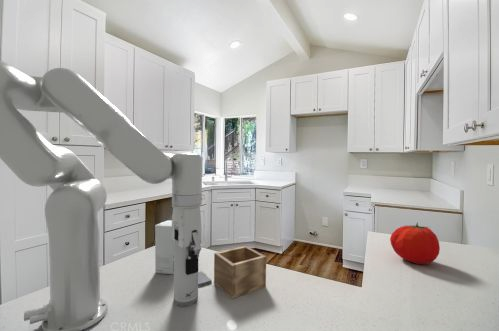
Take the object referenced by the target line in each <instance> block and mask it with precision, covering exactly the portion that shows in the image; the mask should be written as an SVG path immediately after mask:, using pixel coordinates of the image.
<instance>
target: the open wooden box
mask: <svg viewBox="0 0 499 331" xmlns="http://www.w3.org/2000/svg"><path fill="white" fill-rule="evenodd" d="M213 254H214V257H213V258H214V260H213V261H214V265H213V271H214V272H213V284H215V285H216V286H217V287H218V288H219V289H220V290H221V291H223V292H224V293H225V294H226V295H227V296H228V297H229V298H231V299H235V298H238V297H241V296H244V295H247V294H250V293H253V292H255V291H259V290H261V289H264V288H266V287H267V284H266V283H267V282H266V281H267V255H264V254H262V253H261V252H259V251H257V250H255V249H253V248H252V247H249V246H247V245H243V246H239V247H235V248H230V249H227V250H220V251H217V252H214V253H213Z"/></svg>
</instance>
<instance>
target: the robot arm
mask: <svg viewBox="0 0 499 331" xmlns="http://www.w3.org/2000/svg"><path fill="white" fill-rule="evenodd" d="M19 110H21V111H26V112H27V111H29V112H43V113H44V112H46V113H63V114H64V115H66V116H67V117H69V118H70V119H71V120H73V121H74V122H75V123H76V124H78V126H80V127H81V128H82V129H83V130H84V131H85V132H86V133H88V134H89V135H90V137H92V138H94V140H96V141H97V142H98V144H99V145H101V146H102V147H104V148H105V149H106V151H108V152H109V154H111V155H112V156H113V157H115V159H117V160H118V161H119V162H120V163H122V164H123V165H124V166H125V167H126V168H127V169H128V170H130V171H131V172H132V173H133V174H135V175H136V176H137V177H138V178H139V179H141V180H142V181H144V182H146V183H148V184H151V185H157V184H161V183H164V182H166V181H167V180H169V179H170V180H171V202H172V203H171V207H172V215H171V221H172V229H171V238H172V240H173V241H174V236H175V235H174V232H175V229H176V230H178V234H179V235H178V241H179V243H178V244H179V246H180V247H181V248H183V249H185V248H186V254H187V259H186V275H189V274H193V273H197V272H199V258H200V252H201V251H202V246H201V244H202V214H201V207H202V204H203V203H202V201H203V199H202V198H203V197H202V196H203V195H202V194H203V193H202V192H203V158H202V156H201V154H199V153H193V152H178V153H166V152H163V151H162V150H160V148H158V147H157V146H156V145H155V143H154V142H152V141H150V140H149V139H148V138H147V137H146V136H145V134H143V133H142V132H141V131H139V130H138V129H137V127H135V125H133V124H132V123H131V121H130V120H129V119H128V118H127V116H126V115H125V114H123V112H122V111H121V110H119V109H118V108H117V107H116V106H115V105H114V104H112V102H110V101H109V100H108V99H107V98H106V97H105V96H103V95H102V94H101V93H100V92H99V91H98V90H97V89H95V87H93V86H92V85H91V84H90V82H88V81H87V80H86V79H85V78H84V77H82V76H81V75H80V74H78V73H77V72H75V71H74V70H72V69H69V68H65V67H56V68H52V69H50V70H48V71H46V72H45V73H44V74H43V76H42V77H41V76H33V75H28V74H26V73H25V72H23V71H22V70H20V69H17V67H14V66H12V65H11V64H8V63H7V62H5V61H3V60H0V160H1V161H2V162H3V163H4V164H5V165H6V166H7V167H8V168H9V169H10V170H11V171H12V173H14V174H15V176H16V177H17V178H18V179H19V180H20V181H22V182H23V183H24V184H26V185H28V186H31V187H47V186H49V187H50V188H51V189H52V190H53V191H52V192H51V193H50V194H49V196H48V197H47V199H46V200H45V201H46V202H45V204H44V218H45V222H46V228H47V233H48V248H49V249H48V250H49V251H48V253H49V255H48V256H49V298H50V299H49V301H48V304H44V305H43V306H42V307H40V308H39V307H38V308H33V309H30V310H29V309H28V310H26V311H24V312H23V322H27V321H29V325H32V324H36V323H39V322H41V331H84V330H86V329H89V328H90V327H92V326H93V325H95V324H97V323H99V321H100V320H102V319H103V318H104V317H105V316H106V314H107V311H108V303H107V302H106V300H104V299H102V298H101V273H100V271H101V266H100V265H101V264H100V262H101V259H100V254H101V253H100V252H101V251H100V250H101V249H100V248H101V247H100V229H99V220H98V212H99V211H101V209H102V208H103V207H104V206H105V204H106V202H107V199H108V198H107V196H108V194H107V190H106V188H105V187H104V185H103V184H102V182H101V181H100V179H98V178H97V176H96V175H95V174H94V173H93V172H92V170H90V169H89V168H88V166H86V164H85V163H84V162H83V161H82V160H81V158H80V157H79V156H78V155H76V153H74V152H73V151H72V150H71V149H69V148H67V147H65V146H62V145H58V144H57V145H56V144H52V143H51V142H49V141H48V140H47V139H46V137H44V136H43V135H42V134H41V133H40V132H39V131H38V128H36V127H35V126H34V124H33V123H32V122H31V121H30V120H29V119H28V118H27V117H26V116H24V115H23V113H21V112H20V111H19ZM190 242H193V245H191V246H189V244H190ZM190 248H194V250H192V251H191V253H190Z"/></svg>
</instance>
